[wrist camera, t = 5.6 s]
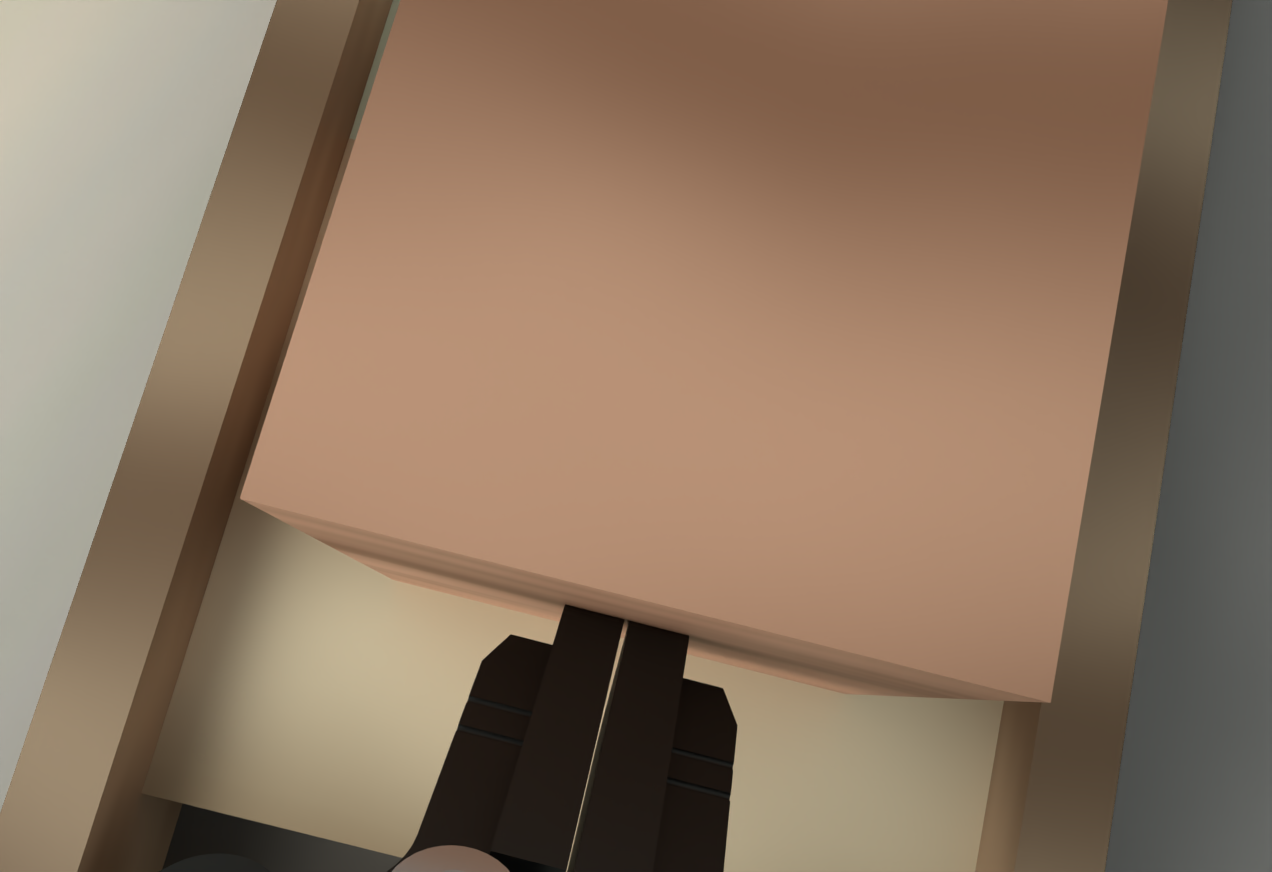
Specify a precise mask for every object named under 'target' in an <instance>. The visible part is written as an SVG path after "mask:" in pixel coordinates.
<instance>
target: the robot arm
mask: <svg viewBox="0 0 1272 872" xmlns="http://www.w3.org/2000/svg"><path fill="white" fill-rule="evenodd" d="M623 624H624V619H621V618H617V617H613V616H609V615H605V614H601V613H597V612H593V611H589V610H585V609H581V608H578V607H574V606H570V605H566V604H565V606H564V609H563V612H562V615H561V619H560V622H559V625H558V629H557V632H556V635H555V639H554V642H553V645H551V644H547V643H543V642H539V641H536V640H532V639H528V638H524V637H520V636H516V635H512V634H510V635H509V636H508V637H507V638H506V639H505V640H504V641H503V642H502V643H501V644H499V645H498V646H497V647H496V648H495V649H494V650H493V651H492V652H491V653H490V654H488V655H487V656H486V657H485V658H484V659H483V660H482V662H481V664H480V667H479V670H478V672H477V675H476V678H475V680H474V683H473V686H472V689H471V691H470V694H469V698H468V701H467V702H466V705H465V707H464V710H463V713H462V715H461V718H460V721H459V724H458V728H457V731H456V732H455V734H454V737H453V740H452V742H451V745H450V748H449V751H448V753H447V756H446V759H445V761H444V764H443V767H442V769H441V772H440V775H439V777H438V780H437V783H436V786H435V788H434V791H433V794H432V796H431V799H430V802H429V804H428V807H427V810H426V813H425V815H424V818H423V821H422V823H421V826H420V829H419V831H418V834H417V836H416V838H415V840H414V843H413V845H412V846H411V848H410V849H409V850H408V852H407V853H406V855H405V856H404V857H403V858H402V859H401V860H400V861H399V862H398V863H397V864H396V865H395V866H393V867H392V868H391V869H389V870H388V871H387V872H566V870H567V866H568V862H569V866H568V870H567V872H724V862H725V851H726V841H727V830H728V820H729V810H730V801H729V800H730V795H731V789H732V778H733V770H732V769H733V764H734V757H735V747H736V736H737V726H738V725H737V723H736V720H735V717H734V715H733V712H732V710H731V707H730V705H729V702H728V699H727V697H726V694H725V692H724V689H723V688H721V687H717V686H713V685H709V684H705V683H701V682H698V681H694V680H690V679H686V678H683V675H684V669H685V662H686V656H687V650H688V643H689V635H685V634H681V633H677V632H673V631H669V630H665V629H661V628H657V627H653V626H649V625H645V624H641V623H637V622H633V621H629V623H628V627H627V630H626V634H625V638H624V642H623V645H622V649H621V653H620V657H619V660H618V664H617V668H616V671H615V675H614V679H613V683H612V686H611V690H610V694H609V698H608V701H607V705H606V709H605V713H604V717H603V720H602V724H601V728H600V723H601V719H602V715H603V710H604V706H605V702H606V697H607V693H608V689H609V684H610V680H611V676H612V671H613V667H614V663H615V658H616V654H617V650H618V645H619V641H620V637H621V632H622V628H623ZM599 728H600V732H599ZM598 732H599V736H598ZM597 736H598V741H597V745H596V740H597ZM595 745H596V749H595ZM594 749H595V753H594ZM593 753H594V757H593ZM592 758H593V761H592ZM591 762H592V766H591ZM590 766H591V770H590ZM589 771H590V774H589ZM588 775H589V779H588ZM587 779H588V783H587ZM586 784H587V787H586ZM585 788H586V792H585ZM584 792H585V796H584ZM583 797H584V800H583ZM582 801H583V805H582ZM581 805H582V809H581ZM580 810H581V813H580ZM579 814H580V818H579ZM578 818H579V822H578ZM577 823H578V827H577ZM576 827H577V831H576ZM575 831H576V835H575ZM574 836H575V840H574ZM573 840H574V844H573ZM572 844H573V848H572ZM571 849H572V853H571ZM570 853H571V857H570ZM569 857H570V861H569ZM159 872H270V871H269V870H268V869H266V868H265V867H264V866H262V865H261V864H259V863H257V862H255V861H253V860H251V859H248V858H245V857H242V856H238V855H232V854H205V855H198V856H195V857H191V858H187V859H184V860H182V861H179V862H177V863H175V864H173V865H170V866H168V867H166V868H165V869H163V870H161V871H159Z"/></svg>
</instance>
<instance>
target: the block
mask: <svg viewBox="0 0 1272 872" xmlns="http://www.w3.org/2000/svg"><path fill="white" fill-rule="evenodd" d="M1167 5H1168V0H400V3H399V6H398V9H397V12H396V15H395V18H394V22H393V25H392V28H391V31H390V34H389V37H388V40H387V43H386V46H385V49H384V53H383V56H382V59H381V62H380V65H379V68H378V71H377V74H376V77H375V80H374V84H373V87H372V90H371V93H370V96H369V99H368V102H367V105H366V108H365V111H364V115H363V118H362V121H361V124H360V127H359V130H358V133H357V136H356V139H355V142H354V146H353V149H352V152H351V155H350V158H349V161H348V164H347V167H346V170H345V173H344V177H343V180H342V183H341V186H340V189H339V192H338V195H337V198H336V201H335V204H334V208H333V211H332V214H331V217H330V220H329V223H328V226H327V229H326V232H325V235H324V239H323V242H322V245H321V248H320V251H319V254H318V257H317V260H316V263H315V266H314V270H313V273H312V276H311V279H310V282H309V285H308V288H307V291H306V294H305V297H304V301H303V304H302V307H301V310H300V313H299V316H298V319H297V322H296V325H295V328H294V331H293V335H292V338H291V341H290V344H289V347H288V350H287V353H286V356H285V359H284V362H283V366H282V369H281V372H280V375H279V378H278V381H277V384H276V387H275V390H274V393H273V397H272V400H271V403H270V406H269V409H268V412H267V415H266V418H265V421H264V424H263V428H262V431H261V434H260V437H259V440H258V443H257V446H256V449H255V452H254V455H253V459H252V462H251V465H250V468H249V471H248V474H247V477H246V480H245V483H244V486H243V490H242V493H241V496H240V499H241V500H243V501H245V502H247V503H249V504H251V505H253V506H255V507H256V508H258V509H260V510H262V511H264V512H266V513H268V514H270V515H272V516H273V517H275V518H277V519H279V520H281V521H283V522H285V523H287V524H289V525H290V526H292V527H294V528H296V529H298V530H300V531H302V532H304V533H305V534H307V535H309V536H311V537H313V538H315V539H317V540H319V541H321V542H322V543H324V544H326V545H328V546H330V547H332V548H334V549H336V550H337V551H339V552H341V553H343V554H345V555H347V556H349V557H351V558H353V559H354V560H356V561H358V562H360V563H362V564H364V565H366V566H368V567H369V568H371V569H373V570H375V571H377V572H379V573H381V574H383V575H385V576H386V577H388V578H390V579H392V580H395V581H399V582H403V583H407V584H411V585H415V586H419V587H423V588H427V589H431V590H435V591H439V592H443V593H447V594H451V595H455V596H459V597H463V598H467V599H471V600H475V601H479V602H483V603H487V604H490V605H494V606H498V607H502V608H506V609H510V610H514V611H518V612H522V613H526V614H530V615H534V616H538V617H542V618H546V619H550V620H554V621H558V622H560V619H561V615H562V612H563V609H564V606H565V604H566V605H570V606H574V607H578V608H581V609H585V610H589V611H593V612H597V613H601V614H605V615H609V616H613V617H617V618H621V619H624V624H623V628H622V632H621V638H625V634H626V630H627V627H628V623H629V621H633V622H637V623H641V624H645V625H649V626H653V627H657V628H661V629H665V630H669V631H673V632H677V633H681V634H685V635H689V643H688V650H687V654H689V655H693V656H697V657H701V658H705V659H708V660H712V661H716V662H720V663H724V664H728V665H732V666H736V667H740V668H744V669H748V670H752V671H756V672H760V673H764V674H768V675H772V676H776V677H780V678H784V679H788V680H792V681H796V682H800V683H804V684H808V685H812V686H815V687H819V688H823V689H827V690H831V691H835V692H839V693H843V694H856V695H879V696H903V697H926V698H950V699H973V700H996V701H1020V702H1043V703H1051V698H1052V692H1053V686H1054V680H1055V674H1056V668H1057V662H1058V656H1059V650H1060V644H1061V638H1062V632H1063V626H1064V620H1065V614H1066V608H1067V602H1068V596H1069V590H1070V584H1071V578H1072V572H1073V566H1074V560H1075V554H1076V548H1077V542H1078V536H1079V530H1080V524H1081V518H1082V512H1083V506H1084V500H1085V494H1086V489H1087V483H1088V477H1089V471H1090V465H1091V459H1092V453H1093V447H1094V441H1095V435H1096V429H1097V423H1098V417H1099V411H1100V405H1101V399H1102V393H1103V387H1104V381H1105V375H1106V369H1107V363H1108V357H1109V351H1110V345H1111V339H1112V333H1113V327H1114V321H1115V315H1116V309H1117V303H1118V297H1119V291H1120V285H1121V280H1122V274H1123V268H1124V262H1125V256H1126V250H1127V244H1128V238H1129V232H1130V226H1131V220H1132V214H1133V208H1134V202H1135V196H1136V190H1137V184H1138V178H1139V172H1140V166H1141V160H1142V154H1143V148H1144V142H1145V136H1146V130H1147V124H1148V118H1149V112H1150V106H1151V100H1152V94H1153V88H1154V82H1155V76H1156V71H1157V65H1158V59H1159V53H1160V47H1161V41H1162V35H1163V29H1164V23H1165V17H1166V11H1167Z"/></svg>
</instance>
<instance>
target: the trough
mask: <svg viewBox="0 0 1272 872" xmlns="http://www.w3.org/2000/svg"><path fill="white" fill-rule="evenodd" d="M392 1H393V0H277V2H276V5H275V8H274V11H273V13H272V16H271V19H270V22H269V25H268V28H267V31H266V34H265V37H264V40H263V43H262V46H261V49H260V52H259V55H258V58H257V61H256V63H255V66H254V69H253V72H252V75H251V78H250V81H249V84H248V87H247V90H246V93H245V96H244V99H243V102H242V105H241V108H240V110H239V113H238V116H237V119H236V122H235V125H234V128H233V131H232V134H231V137H230V140H229V143H228V146H227V149H226V152H225V155H224V157H223V160H222V163H221V166H220V169H219V172H218V175H217V178H216V181H215V184H214V187H213V190H212V193H211V196H210V199H209V202H208V204H207V207H206V210H205V213H204V216H203V219H202V222H201V225H200V228H199V231H198V234H197V237H196V240H195V243H194V246H193V249H192V251H191V254H190V257H189V260H188V263H187V266H186V269H185V272H184V275H183V278H182V281H181V284H180V287H179V290H178V293H177V296H176V298H175V301H174V304H173V307H172V310H171V313H170V316H169V319H168V322H167V325H166V328H165V331H164V334H163V337H162V340H161V343H160V345H159V348H158V351H157V354H156V357H155V360H154V363H153V366H152V369H151V372H150V375H149V378H148V381H147V384H146V387H145V390H144V392H143V395H142V398H141V401H140V404H139V407H138V410H137V413H136V416H135V419H134V422H133V425H132V428H131V431H130V434H129V437H128V439H127V442H126V445H125V448H124V451H123V454H122V457H121V460H120V463H119V466H118V469H117V472H116V475H115V478H114V481H113V484H112V486H111V489H110V492H109V495H108V498H107V501H106V504H105V507H104V510H103V513H102V516H101V519H100V522H99V525H98V528H97V531H96V533H95V536H94V539H93V542H92V545H91V548H90V551H89V554H88V557H87V560H86V563H85V566H84V569H83V572H82V575H81V578H80V580H79V583H78V586H77V589H76V592H75V595H74V598H73V601H72V604H71V607H70V610H69V613H68V616H67V619H66V622H65V625H64V627H63V630H62V633H61V636H60V639H59V642H58V645H57V648H56V651H55V654H54V657H53V660H52V663H51V666H50V669H49V672H48V674H47V677H46V680H45V683H44V686H43V689H42V692H41V695H40V698H39V701H38V704H37V707H36V710H35V713H34V716H33V719H32V721H31V724H30V727H29V730H28V733H27V736H26V739H25V742H24V745H23V748H22V751H21V754H20V757H19V760H18V763H17V766H16V768H15V771H14V774H13V777H12V780H11V783H10V786H9V789H8V792H7V795H6V798H5V801H4V804H3V807H2V810H1V813H0V872H159V871H161V870H163V869H165V868H166V867H168V866H170V865H173V864H175V863H177V862H179V861H182V860H184V859H187V858H191V857H195V856H198V855H205V854H232V855H238V856H242V857H245V858H248V859H251V860H253V861H255V862H257V863H259V864H261V865H262V866H264V867H265V868H266V869H268V870H269V871H270V872H387V871H388V870H389V869H391V868H392V867H393V866H395V865H396V864H397V863H398V862H399V861H400V860H401V859H402V858H403V857H404V856H405V855H406V853H407V852H408V850H409V849H410V848H411V846H412V845H413V843H414V840H415V838H416V836H417V834H418V831H419V829H420V826H421V823H422V821H423V818H424V815H425V813H426V810H427V807H428V804H429V802H430V799H431V796H432V794H433V791H434V788H435V786H436V783H437V780H438V777H439V775H440V772H441V769H442V767H443V764H444V761H445V759H446V756H447V753H448V751H449V748H450V745H451V742H452V740H453V737H454V734H455V732H456V731H457V728H458V724H459V721H460V718H461V715H462V713H463V710H464V707H465V705H466V702H467V701H468V698H469V694H470V691H471V689H472V686H473V683H474V680H475V678H476V675H477V672H478V670H479V667H480V664H481V662H482V660H483V659H484V658H485V657H486V656H487V655H488V654H490V653H491V652H492V651H493V650H494V649H495V648H496V647H497V646H498V645H499V644H501V643H502V642H503V641H504V640H505V639H506V638H507V637H508V636H509V635H510V634H512V635H516V636H520V637H524V638H528V639H532V640H536V641H539V642H543V643H547V644H551V645H553V642H554V639H555V635H556V632H557V629H558V625H559V622H558V621H554V620H550V619H546V618H542V617H538V616H534V615H530V614H526V613H522V612H518V611H514V610H510V609H506V608H502V607H498V606H494V605H490V604H487V603H483V602H479V601H475V600H471V599H467V598H463V597H459V596H455V595H451V594H447V593H443V592H439V591H435V590H431V589H427V588H423V587H419V586H415V585H411V584H407V583H403V582H399V581H395V580H392V579H390V578H388V577H386V576H385V575H383V574H381V573H379V572H377V571H375V570H373V569H371V568H369V567H368V566H366V565H364V564H362V563H360V562H358V561H356V560H354V559H353V558H351V557H349V556H347V555H345V554H343V553H341V552H339V551H337V550H336V549H334V548H332V547H330V546H328V545H326V544H324V543H322V542H321V541H319V540H317V539H315V538H313V537H311V536H309V535H307V534H305V533H304V532H302V531H300V530H298V529H296V528H294V527H292V526H290V525H289V524H287V523H285V522H283V521H281V520H279V519H277V518H275V517H273V516H272V515H270V514H268V513H266V512H264V511H262V510H260V509H258V508H256V507H255V506H253V505H251V504H249V503H247V502H245V501H243V500H241V499H240V496H241V493H242V490H243V486H244V483H245V480H246V477H247V474H248V471H249V468H250V465H251V462H252V459H253V455H254V452H255V449H256V446H257V443H258V440H259V437H260V434H261V431H262V428H263V424H264V421H265V418H266V415H267V412H268V409H269V406H270V403H271V400H272V397H273V393H274V390H275V387H276V384H277V381H278V378H279V375H280V372H281V369H282V366H283V362H284V359H285V356H286V353H287V350H288V347H289V344H290V341H291V338H292V335H293V331H294V328H295V325H296V322H297V319H298V316H299V313H300V310H301V307H302V304H303V301H304V297H305V294H306V291H307V288H308V285H309V282H310V279H311V276H312V273H313V270H314V266H315V263H316V260H317V257H318V254H319V251H320V248H321V245H322V242H323V239H324V235H325V232H326V229H327V226H328V223H329V220H330V217H331V214H332V211H333V208H334V204H335V201H336V198H337V195H338V192H339V189H340V186H341V183H342V180H343V177H344V173H345V170H346V167H347V164H348V161H349V158H350V155H351V152H352V149H353V146H354V142H355V140H354V139H349V137H350V134H351V131H352V128H353V125H354V121H355V118H356V115H357V112H358V109H359V106H360V102H361V99H362V96H363V93H364V90H365V87H366V83H367V80H368V77H369V74H370V71H371V68H372V65H373V61H374V58H375V55H376V52H377V49H378V46H379V42H380V39H381V36H382V33H383V30H384V27H385V24H386V20H387V17H388V14H389V11H390V8H391V5H392ZM1231 7H1232V0H1168V5H1167V11H1166V17H1165V23H1164V29H1163V35H1162V41H1161V47H1160V53H1159V59H1158V65H1157V71H1156V76H1155V82H1154V88H1153V94H1152V100H1151V106H1150V112H1149V118H1148V124H1147V130H1146V136H1145V142H1144V148H1143V154H1142V160H1141V166H1140V172H1139V178H1138V184H1137V190H1136V196H1135V202H1134V208H1133V214H1132V220H1131V226H1130V232H1129V238H1128V244H1127V250H1126V256H1125V262H1124V268H1123V274H1122V280H1121V285H1120V291H1119V297H1118V303H1117V309H1116V315H1115V321H1114V327H1113V333H1112V339H1111V345H1110V351H1109V357H1108V363H1107V369H1106V375H1105V381H1104V387H1103V393H1102V399H1101V405H1100V411H1099V417H1098V423H1097V429H1096V435H1095V441H1094V447H1093V453H1092V459H1091V465H1090V471H1089V477H1088V483H1087V489H1086V494H1085V500H1084V506H1083V512H1082V518H1081V524H1080V530H1079V536H1078V542H1077V548H1076V554H1075V560H1074V566H1073V572H1072V578H1071V584H1070V590H1069V596H1068V602H1067V608H1066V614H1065V620H1064V626H1063V632H1062V638H1061V644H1060V650H1059V656H1058V662H1057V668H1056V674H1055V680H1054V686H1053V692H1052V698H1051V703H1043V702H1020V701H996V700H973V699H950V698H926V697H903V696H879V695H856V694H843V693H839V692H835V691H831V690H827V689H823V688H819V687H815V686H812V685H808V684H804V683H800V682H796V681H792V680H788V679H784V678H780V677H776V676H772V675H768V674H764V673H760V672H756V671H752V670H748V669H744V668H740V667H736V666H732V665H728V664H724V663H720V662H716V661H712V660H708V659H705V658H701V657H697V656H693V655H689V654H687V656H686V662H685V669H684V675H683V678H686V679H690V680H694V681H698V682H701V683H705V684H709V685H713V686H717V687H721V688H723V689H724V692H725V694H726V697H727V699H728V702H729V705H730V707H731V710H732V712H733V715H734V717H735V720H736V723H737V725H738V726H737V736H736V747H735V757H734V764H733V769H732V770H733V778H732V789H731V795H730V800H729V801H730V810H729V820H728V830H727V841H726V851H725V862H724V872H1105V866H1106V859H1107V852H1108V845H1109V838H1110V832H1111V825H1112V818H1113V811H1114V804H1115V798H1116V791H1117V784H1118V777H1119V770H1120V764H1121V757H1122V750H1123V743H1124V736H1125V729H1126V723H1127V716H1128V709H1129V702H1130V695H1131V689H1132V682H1133V675H1134V668H1135V661H1136V654H1137V648H1138V641H1139V634H1140V627H1141V620H1142V614H1143V607H1144V600H1145V593H1146V586H1147V579H1148V573H1149V566H1150V559H1151V552H1152V545H1153V539H1154V532H1155V525H1156V518H1157V511H1158V504H1159V498H1160V491H1161V484H1162V477H1163V470H1164V464H1165V457H1166V450H1167V443H1168V436H1169V429H1170V423H1171V416H1172V409H1173V402H1174V395H1175V389H1176V382H1177V375H1178V368H1179V361H1180V354H1181V348H1182V341H1183V334H1184V327H1185V320H1186V314H1187V307H1188V300H1189V293H1190V286H1191V279H1192V273H1193V266H1194V259H1195V252H1196V245H1197V239H1198V232H1199V225H1200V218H1201V211H1202V204H1203V198H1204V191H1205V184H1206V177H1207V170H1208V164H1209V157H1210V150H1211V143H1212V136H1213V129H1214V123H1215V116H1216V109H1217V102H1218V95H1219V89H1220V82H1221V75H1222V68H1223V61H1224V55H1225V48H1226V41H1227V34H1228V27H1229V20H1230V14H1231ZM623 642H624V638H621V637H620V641H619V645H618V650H617V654H616V658H615V663H614V667H613V671H612V676H611V680H610V684H609V689H608V693H607V697H606V702H605V706H604V710H603V715H602V719H601V723H600V728H601V724H602V720H603V717H604V713H605V709H606V705H607V701H608V698H609V694H610V690H611V686H612V683H613V679H614V675H615V671H616V668H617V664H618V660H619V657H620V653H621V649H622V645H623ZM600 728H599V732H600ZM599 732H598V736H599ZM598 736H597V740H596V745H597V741H598ZM596 745H595V749H596ZM595 749H594V753H595ZM594 753H593V757H594ZM592 761H593V758H592ZM591 766H592V762H591ZM591 766H590V770H591ZM589 774H590V771H589ZM588 779H589V775H588ZM588 779H587V783H588ZM586 787H587V784H586ZM585 792H586V788H585ZM585 792H584V796H585ZM583 800H584V797H583ZM582 805H583V801H582ZM582 805H581V809H582ZM580 813H581V810H580ZM579 818H580V814H579ZM579 818H578V822H579ZM577 827H578V823H577ZM577 827H576V831H577ZM576 831H575V835H576ZM574 840H575V836H574ZM574 840H573V844H574ZM573 844H572V848H573ZM571 853H572V849H571ZM571 853H570V857H571ZM570 857H569V861H570ZM568 866H569V862H568ZM568 866H567V870H568ZM567 870H566V872H567Z"/></svg>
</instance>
